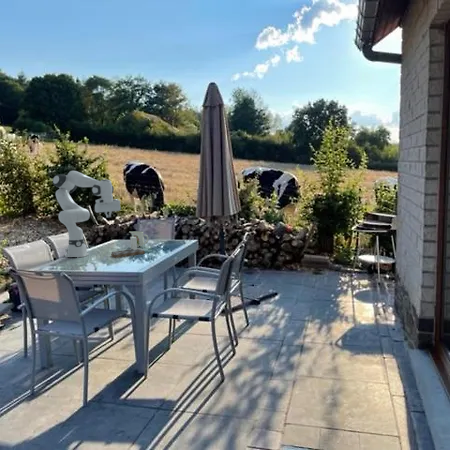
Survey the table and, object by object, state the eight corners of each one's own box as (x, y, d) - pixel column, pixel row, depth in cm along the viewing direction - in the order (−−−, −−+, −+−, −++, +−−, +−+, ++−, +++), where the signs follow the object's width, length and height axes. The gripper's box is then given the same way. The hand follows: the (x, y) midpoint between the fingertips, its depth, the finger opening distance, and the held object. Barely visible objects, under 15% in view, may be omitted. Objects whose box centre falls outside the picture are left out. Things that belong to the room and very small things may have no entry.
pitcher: (146, 247, 417) (145, 232, 415) (127, 247, 420) (126, 232, 419) (150, 245, 427) (150, 230, 426) (132, 245, 431) (131, 230, 429)
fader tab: (133, 252, 383) (132, 237, 381) (130, 251, 388) (129, 237, 386) (137, 251, 385) (137, 237, 383) (135, 250, 390) (134, 236, 388)
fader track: (115, 257, 372) (115, 253, 372) (111, 256, 381) (110, 251, 380) (144, 253, 386) (144, 249, 386) (139, 252, 394) (139, 247, 394)
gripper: (118, 198, 379) (119, 215, 381) (93, 200, 368) (94, 218, 370) (121, 199, 374) (122, 216, 376) (96, 201, 363) (97, 218, 365)
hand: (108, 217), depth 373 cm, fingers closed
